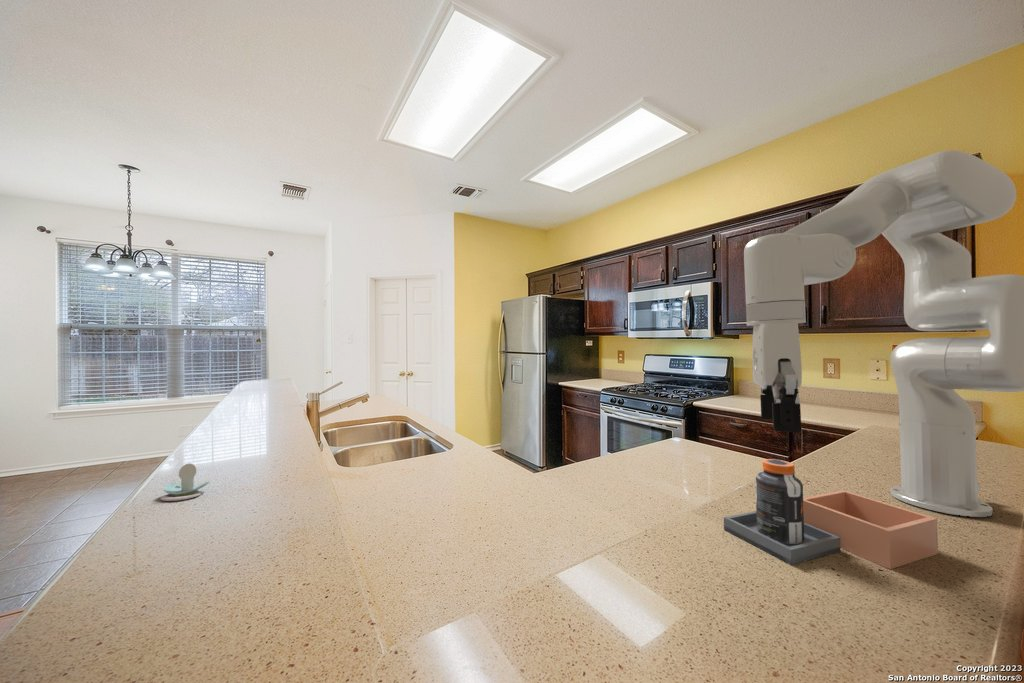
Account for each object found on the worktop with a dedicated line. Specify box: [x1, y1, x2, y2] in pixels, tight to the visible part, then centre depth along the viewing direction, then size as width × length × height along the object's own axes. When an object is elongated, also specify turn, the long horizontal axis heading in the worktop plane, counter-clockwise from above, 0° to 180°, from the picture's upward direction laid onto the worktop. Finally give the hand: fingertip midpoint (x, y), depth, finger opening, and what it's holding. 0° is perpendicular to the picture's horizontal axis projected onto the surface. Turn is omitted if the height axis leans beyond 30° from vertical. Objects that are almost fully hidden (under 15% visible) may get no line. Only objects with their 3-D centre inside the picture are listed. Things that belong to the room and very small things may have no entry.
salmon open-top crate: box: [803, 489, 939, 570], centre depth 56 cm, size 11×11×5 cm
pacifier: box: [160, 462, 210, 502], centre depth 73 cm, size 7×6×6 cm
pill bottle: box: [755, 458, 804, 544], centre depth 56 cm, size 6×6×11 cm
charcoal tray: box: [723, 510, 842, 566], centre depth 56 cm, size 10×10×2 cm
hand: (779, 424), depth 57 cm, fingers open, 9 cm apart
